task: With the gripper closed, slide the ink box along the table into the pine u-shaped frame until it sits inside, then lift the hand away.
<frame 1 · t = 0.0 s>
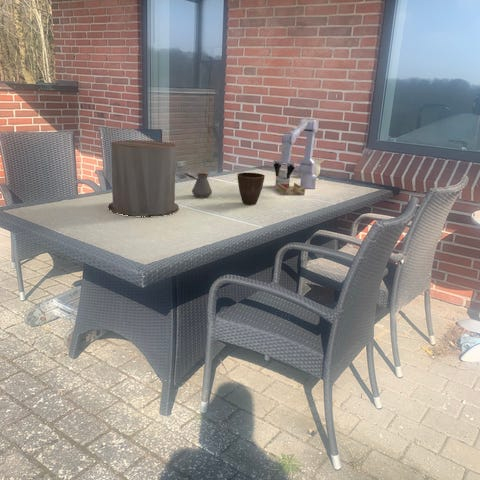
hand: (282, 177, 302), 11 cm above the table, tool pointing down, fingers open, 7 cm apart
pitcher: (310, 178, 367), on the table
plant pot: (249, 203, 277), on the table
coffee pot: (196, 198, 283), on the table
storage basket: (144, 209, 253), on the table
pine u-shaped frame: (290, 191, 313), on the table
ink box: (282, 187, 327), on the table
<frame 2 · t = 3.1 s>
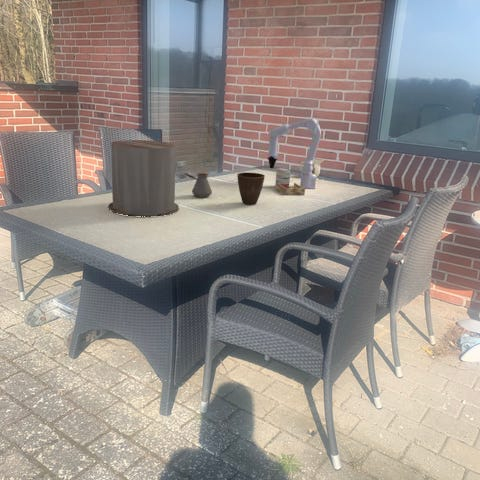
hand: (271, 168, 334), 10 cm above the table, tool pointing down, fingers closed
nothing on the table moved.
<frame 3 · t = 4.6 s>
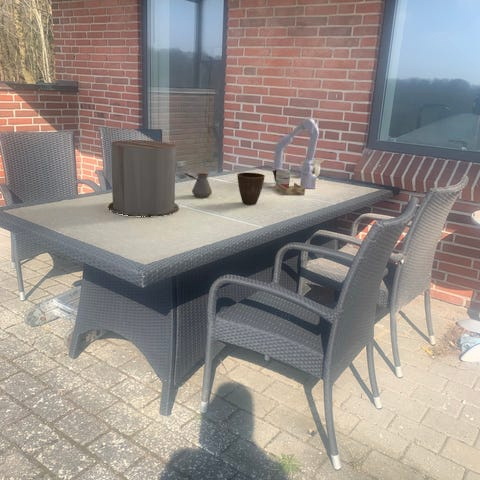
hand: (276, 181, 337), 1 cm above the table, tool pointing down, fingers closed
nothing on the table moved.
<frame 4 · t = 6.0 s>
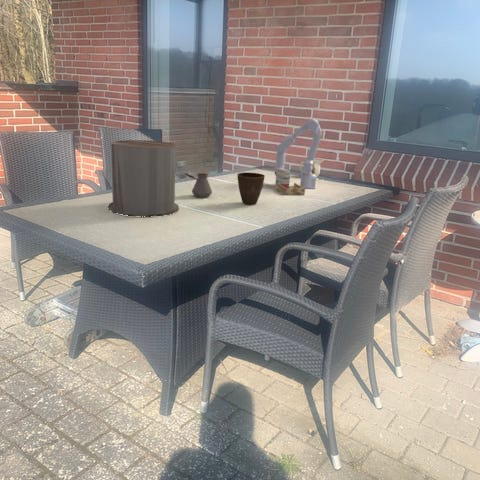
hand: (278, 182, 333), 1 cm above the table, tool pointing down, fingers closed
ink box: (282, 187, 327), on the table, touching gripper
everything else where it was.
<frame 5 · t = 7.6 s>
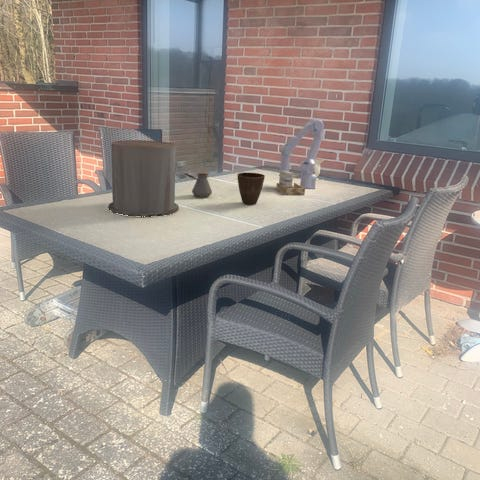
hand: (283, 185, 325), 1 cm above the table, tool pointing down, fingers closed
ink box: (285, 190, 319), on the table, touching gripper
everything else where it was.
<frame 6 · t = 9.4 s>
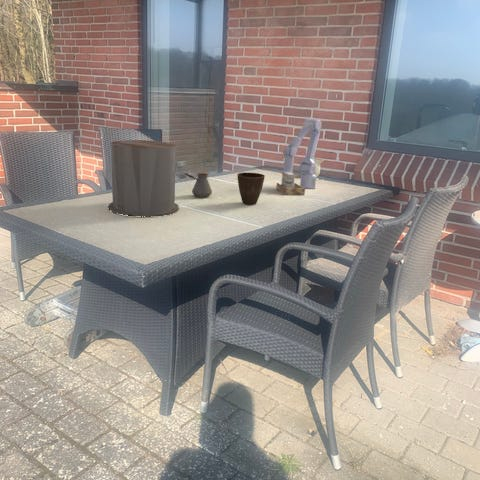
hand: (286, 187, 318), 2 cm above the table, tool pointing down, fingers closed, pressing on ink box
ink box: (286, 191, 314), on the table, touching gripper
everything else where it was.
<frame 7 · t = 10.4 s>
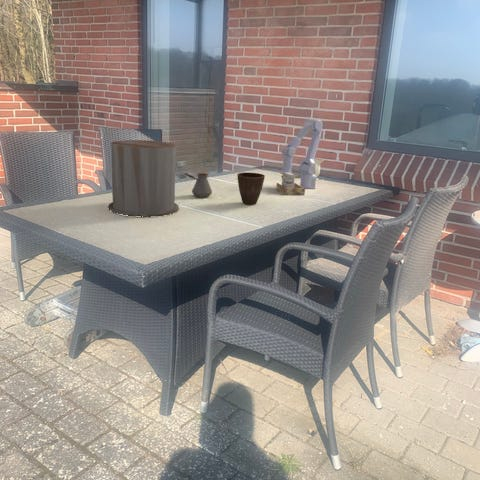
hand: (285, 186, 321), 1 cm above the table, tool pointing down, fingers closed
ink box: (287, 192, 313), on the table
everything else where it was.
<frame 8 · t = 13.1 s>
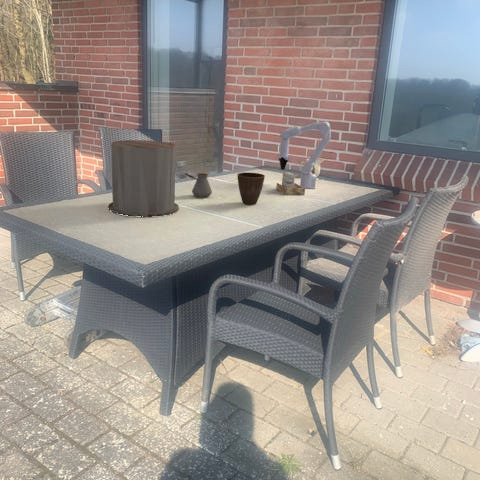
hand: (282, 169, 331), 10 cm above the table, tool pointing down, fingers closed
nothing on the table moved.
at the end: ink box inside the target area on the pine u-shaped frame (1.9 cm from its centre), point 0.0 cm above the pine u-shaped frame's base; ink box tilted 0° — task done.
